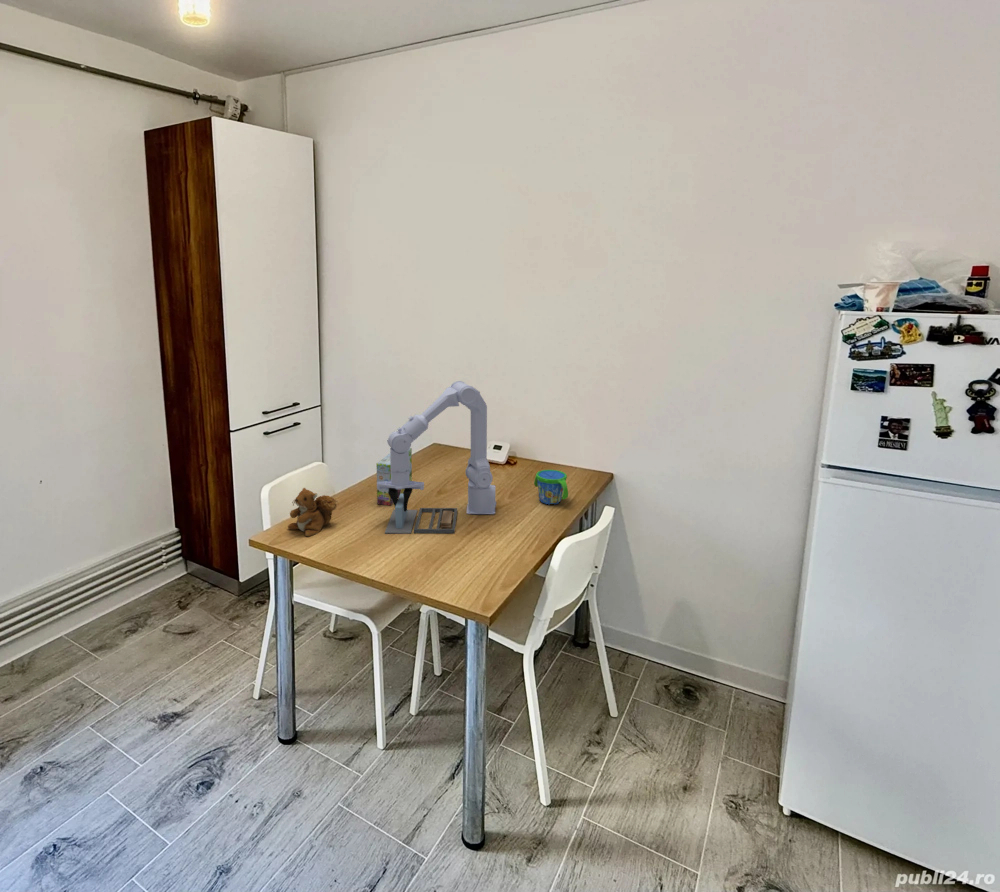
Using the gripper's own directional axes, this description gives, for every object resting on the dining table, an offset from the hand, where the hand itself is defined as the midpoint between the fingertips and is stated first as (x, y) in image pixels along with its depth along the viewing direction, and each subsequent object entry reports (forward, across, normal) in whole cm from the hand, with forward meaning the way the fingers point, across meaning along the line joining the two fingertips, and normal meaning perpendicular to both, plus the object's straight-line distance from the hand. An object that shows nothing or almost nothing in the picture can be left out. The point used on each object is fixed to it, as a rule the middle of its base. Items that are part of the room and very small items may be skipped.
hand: (401, 510), depth 189 cm
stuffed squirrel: (+4, -27, -5) cm, 27 cm away
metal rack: (+4, +11, 0) cm, 12 cm away
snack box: (+4, -6, +24) cm, 25 cm away
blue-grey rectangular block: (+4, 0, 0) cm, 4 cm away
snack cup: (+4, +50, +18) cm, 53 cm away
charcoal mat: (+4, 0, 0) cm, 4 cm away
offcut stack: (+4, +14, 0) cm, 15 cm away
